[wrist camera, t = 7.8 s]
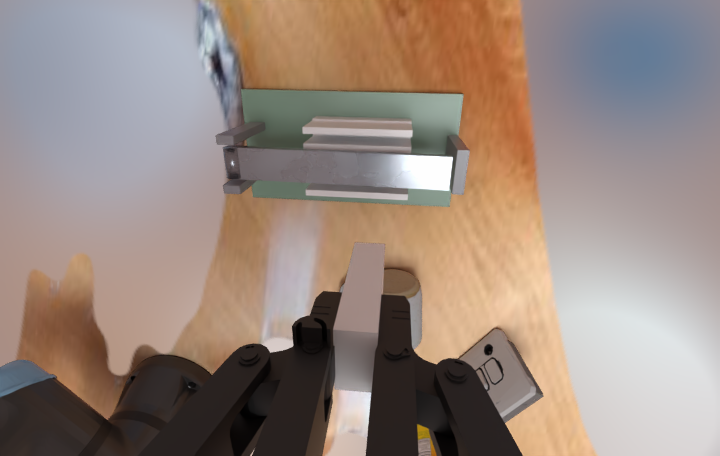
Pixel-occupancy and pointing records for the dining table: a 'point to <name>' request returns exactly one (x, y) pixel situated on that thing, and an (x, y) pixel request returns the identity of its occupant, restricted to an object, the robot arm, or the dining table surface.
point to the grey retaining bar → (339, 167)
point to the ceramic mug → (411, 289)
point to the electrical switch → (503, 374)
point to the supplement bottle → (425, 442)
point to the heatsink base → (352, 137)
